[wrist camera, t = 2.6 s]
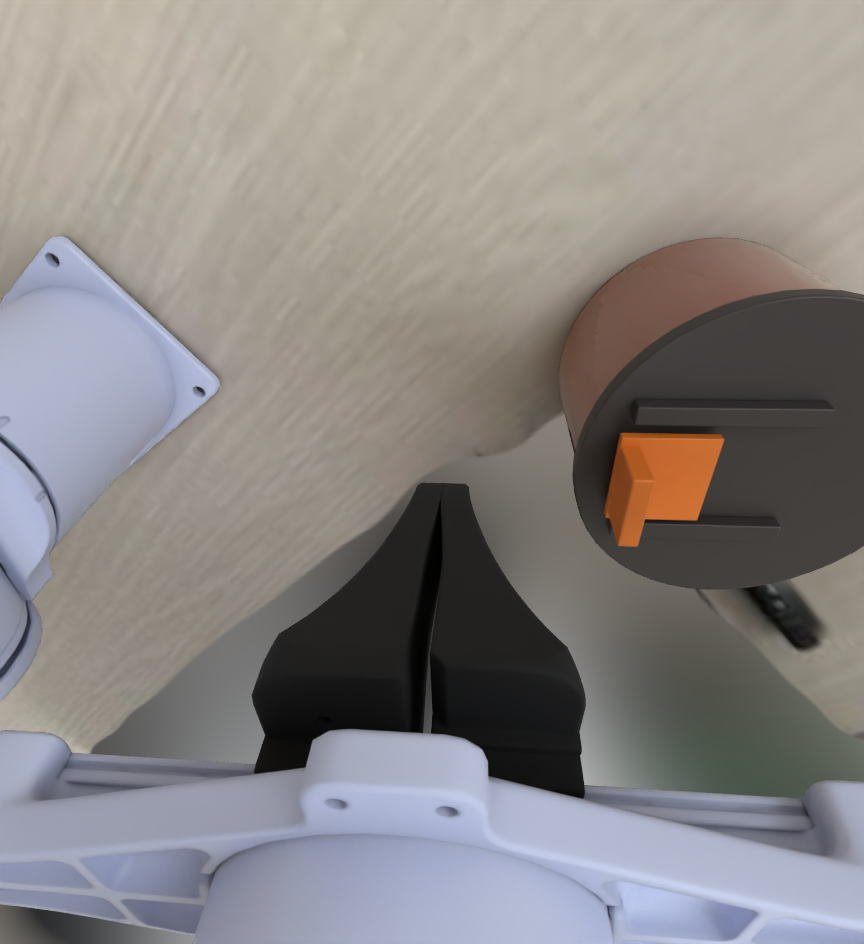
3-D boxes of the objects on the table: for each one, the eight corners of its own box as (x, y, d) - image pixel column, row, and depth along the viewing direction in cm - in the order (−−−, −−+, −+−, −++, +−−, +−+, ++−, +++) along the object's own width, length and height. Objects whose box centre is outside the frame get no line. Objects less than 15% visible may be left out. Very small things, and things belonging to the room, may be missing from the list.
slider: (603, 512, 17) (615, 554, 16) (620, 432, 16) (635, 471, 14) (694, 514, 17) (715, 557, 16) (721, 433, 16) (747, 473, 14)
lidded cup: (540, 469, 26) (559, 595, 20) (566, 229, 20) (606, 302, 13) (774, 474, 25) (871, 607, 19) (879, 226, 19) (1075, 301, 13)
